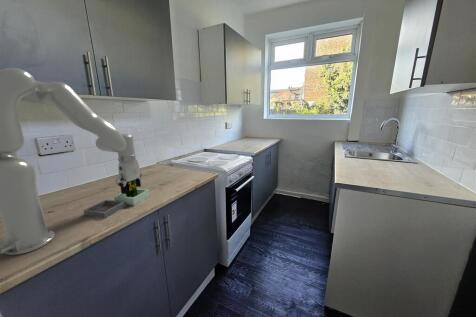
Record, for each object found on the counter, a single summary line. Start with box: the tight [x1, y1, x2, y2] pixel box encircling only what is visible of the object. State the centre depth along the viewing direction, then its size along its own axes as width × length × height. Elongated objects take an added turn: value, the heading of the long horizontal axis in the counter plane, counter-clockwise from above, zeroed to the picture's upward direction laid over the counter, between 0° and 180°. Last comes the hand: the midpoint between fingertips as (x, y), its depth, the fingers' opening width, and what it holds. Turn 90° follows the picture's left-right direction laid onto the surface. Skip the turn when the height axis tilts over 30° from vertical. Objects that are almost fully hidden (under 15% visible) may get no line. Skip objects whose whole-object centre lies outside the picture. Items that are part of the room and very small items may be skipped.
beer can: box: [125, 179, 138, 198], centre depth 103 cm, size 5×5×12 cm
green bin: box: [113, 188, 151, 207], centre depth 105 cm, size 12×12×4 cm
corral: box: [83, 199, 126, 219], centre depth 94 cm, size 12×12×2 cm
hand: (131, 189), depth 104 cm, fingers open, 9 cm apart
